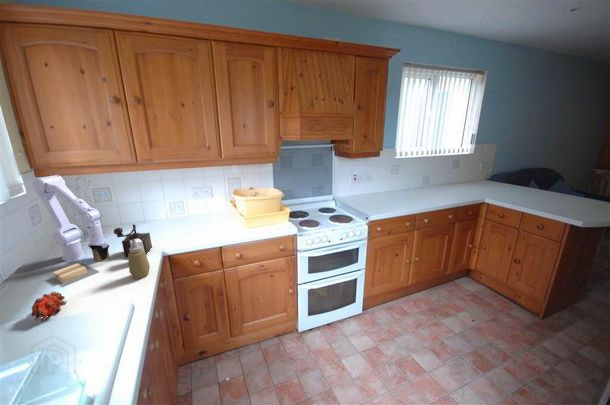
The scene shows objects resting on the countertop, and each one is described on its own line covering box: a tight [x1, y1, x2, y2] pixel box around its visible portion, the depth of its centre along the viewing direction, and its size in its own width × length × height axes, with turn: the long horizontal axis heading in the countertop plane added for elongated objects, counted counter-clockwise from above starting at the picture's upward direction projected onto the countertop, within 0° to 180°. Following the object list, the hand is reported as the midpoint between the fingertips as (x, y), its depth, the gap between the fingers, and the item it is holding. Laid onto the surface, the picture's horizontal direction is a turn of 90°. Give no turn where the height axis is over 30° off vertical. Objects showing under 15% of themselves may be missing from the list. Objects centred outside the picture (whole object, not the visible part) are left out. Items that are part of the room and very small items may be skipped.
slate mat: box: [46, 262, 100, 288], centre depth 121 cm, size 18×14×1 cm
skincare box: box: [130, 238, 144, 250], centre depth 131 cm, size 6×4×12 cm
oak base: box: [52, 262, 88, 283], centre depth 120 cm, size 9×9×3 cm
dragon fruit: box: [31, 291, 67, 321], centre depth 95 cm, size 8×8×12 cm
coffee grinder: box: [113, 224, 153, 258], centre depth 138 cm, size 16×11×18 cm
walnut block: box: [91, 249, 111, 263], centre depth 135 cm, size 5×5×6 cm
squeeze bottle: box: [127, 240, 151, 280], centre depth 118 cm, size 8×8×18 cm
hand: (101, 257), depth 135 cm, fingers closed on walnut block, 5 cm apart
